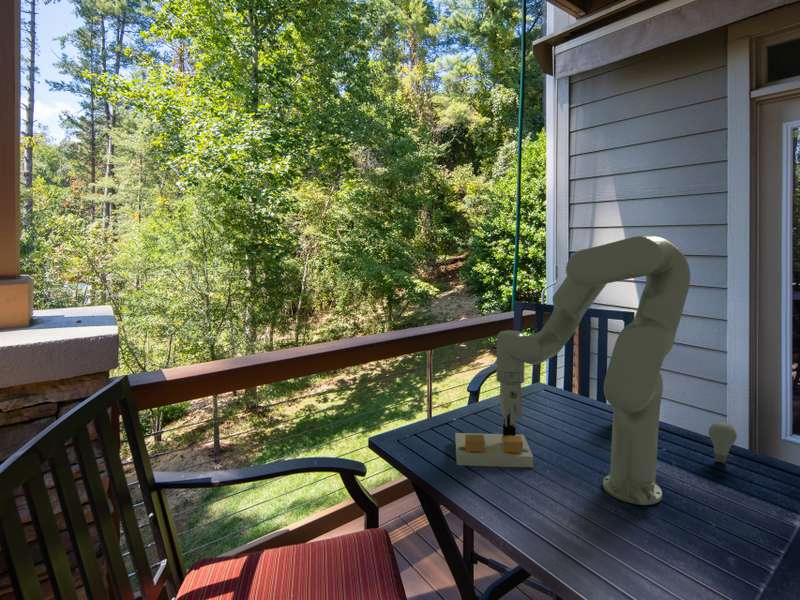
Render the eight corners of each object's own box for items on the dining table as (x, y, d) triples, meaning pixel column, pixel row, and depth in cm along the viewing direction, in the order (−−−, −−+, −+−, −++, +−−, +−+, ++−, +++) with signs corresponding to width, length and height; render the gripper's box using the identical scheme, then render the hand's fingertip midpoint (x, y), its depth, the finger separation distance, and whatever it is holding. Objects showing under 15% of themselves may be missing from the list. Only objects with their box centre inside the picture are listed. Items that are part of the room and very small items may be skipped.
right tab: (522, 452, 121) (522, 442, 121) (503, 452, 121) (503, 441, 121) (520, 446, 125) (520, 435, 125) (501, 445, 125) (501, 435, 125)
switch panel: (533, 467, 120) (533, 456, 119) (456, 465, 122) (456, 454, 121) (523, 444, 134) (523, 434, 133) (455, 442, 135) (455, 432, 135)
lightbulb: (722, 469, 117) (725, 428, 116) (700, 459, 123) (703, 420, 122) (740, 466, 119) (743, 426, 118) (718, 455, 125) (721, 417, 123)
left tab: (484, 451, 122) (484, 441, 122) (465, 451, 122) (465, 440, 122) (483, 445, 126) (483, 434, 126) (465, 444, 126) (465, 434, 126)
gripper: (529, 383, 118) (527, 451, 120) (519, 368, 133) (517, 428, 135) (500, 383, 118) (499, 450, 121) (493, 367, 133) (492, 427, 136)
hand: (509, 438), depth 128 cm, fingers closed
